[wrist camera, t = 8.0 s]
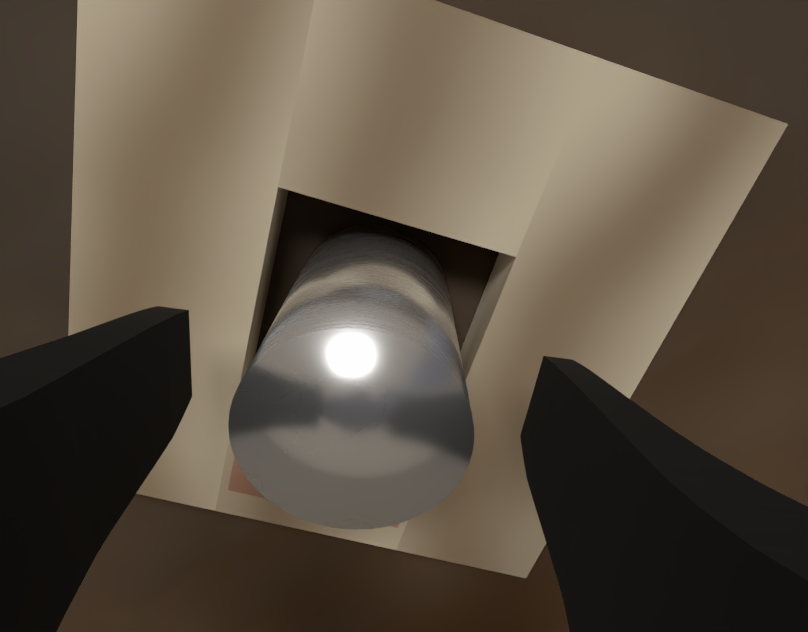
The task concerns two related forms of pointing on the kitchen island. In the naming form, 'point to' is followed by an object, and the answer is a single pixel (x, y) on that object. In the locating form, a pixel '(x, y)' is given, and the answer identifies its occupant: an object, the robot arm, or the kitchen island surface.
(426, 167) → the hole plate
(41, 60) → the kitchen island surface
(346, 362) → the steel peg
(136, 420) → the robot arm
